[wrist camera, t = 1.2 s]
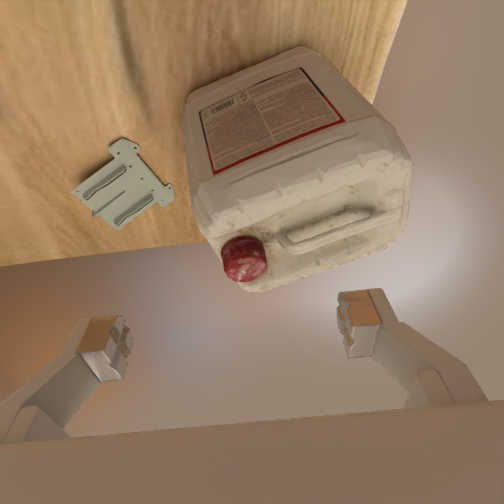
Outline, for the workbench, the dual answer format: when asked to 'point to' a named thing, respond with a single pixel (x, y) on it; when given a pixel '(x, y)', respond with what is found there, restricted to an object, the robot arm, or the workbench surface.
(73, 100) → the workbench surface
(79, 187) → the metal bracket
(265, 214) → the jerry can
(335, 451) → the robot arm
